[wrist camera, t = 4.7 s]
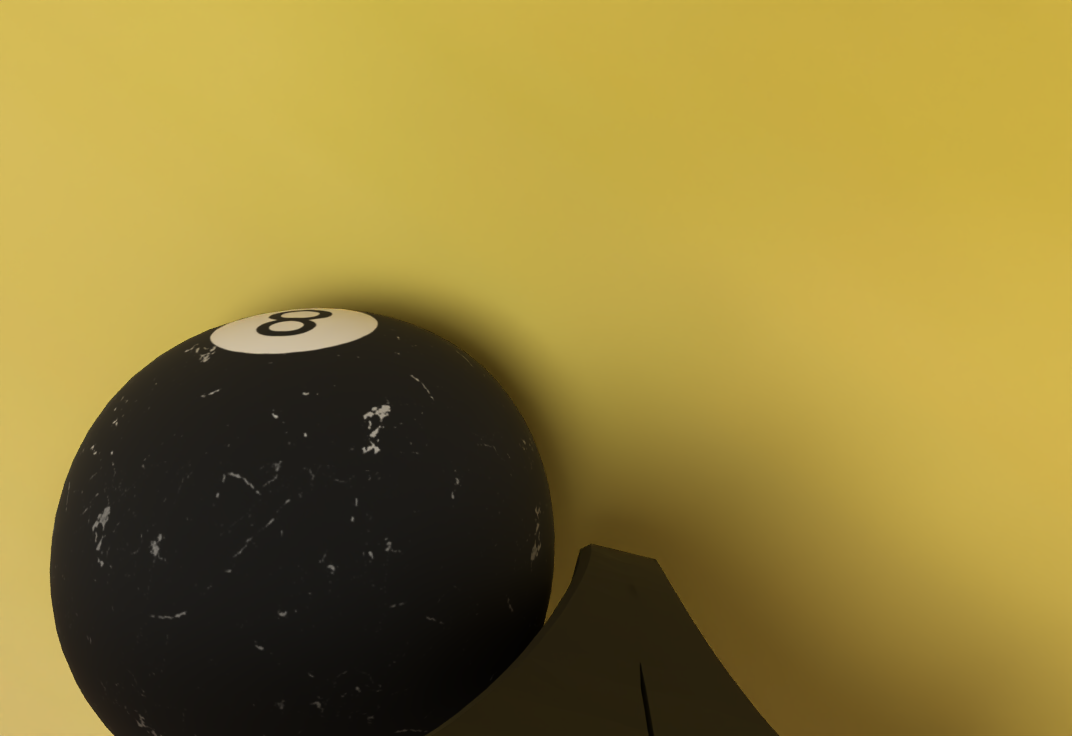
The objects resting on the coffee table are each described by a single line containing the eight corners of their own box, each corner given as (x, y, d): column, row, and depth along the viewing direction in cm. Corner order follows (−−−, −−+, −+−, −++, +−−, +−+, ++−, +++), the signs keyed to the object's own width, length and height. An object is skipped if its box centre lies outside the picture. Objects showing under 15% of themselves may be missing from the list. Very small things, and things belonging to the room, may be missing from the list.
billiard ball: (220, 608, 16) (1, 915, 10) (166, 265, 14) (-141, 410, 8) (569, 617, 15) (541, 945, 10) (562, 261, 13) (522, 413, 8)
